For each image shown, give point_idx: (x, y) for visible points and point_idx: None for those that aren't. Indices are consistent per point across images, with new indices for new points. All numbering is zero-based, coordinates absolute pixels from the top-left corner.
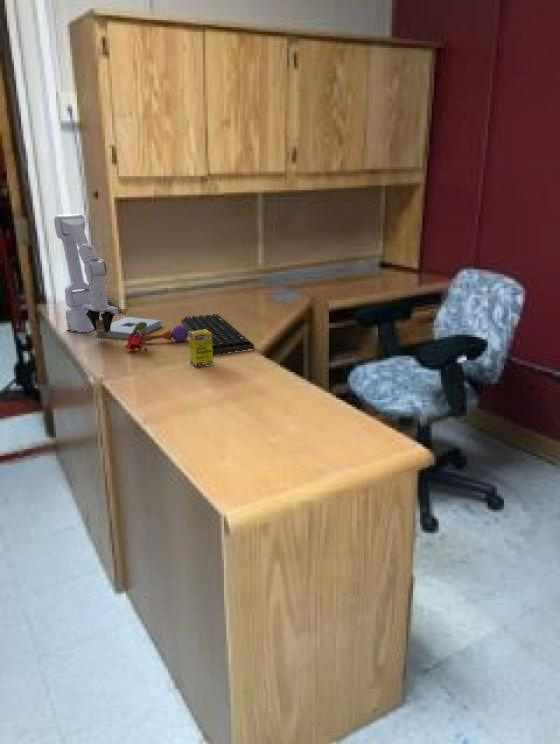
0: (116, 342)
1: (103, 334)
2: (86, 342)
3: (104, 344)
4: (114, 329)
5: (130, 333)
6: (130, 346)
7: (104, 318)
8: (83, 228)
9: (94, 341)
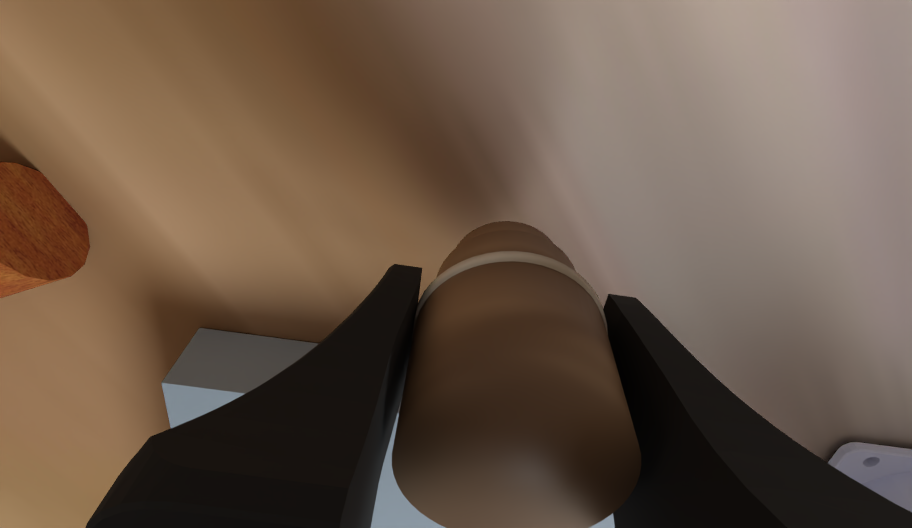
0: (304, 210)
1: (462, 245)
2: (718, 133)
3: (407, 95)
4: None
5: (180, 382)
6: None
7: (272, 417)
8: None
9: (618, 197)
